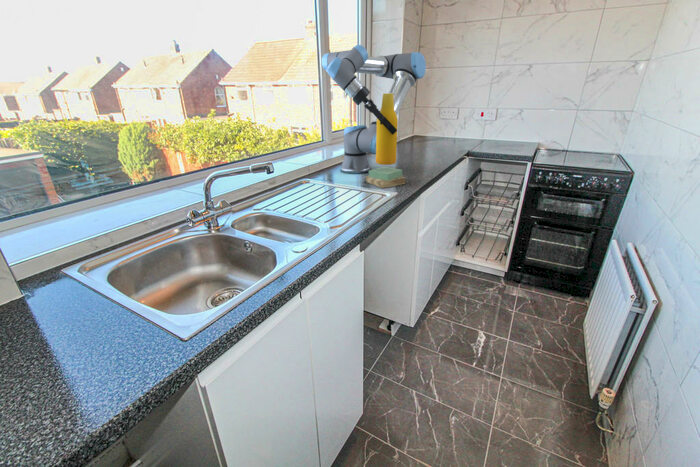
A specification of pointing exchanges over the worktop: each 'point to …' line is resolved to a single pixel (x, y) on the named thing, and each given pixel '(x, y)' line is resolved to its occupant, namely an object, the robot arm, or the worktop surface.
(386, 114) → the beer bottle
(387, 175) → the top block
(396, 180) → the base block
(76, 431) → the worktop surface
